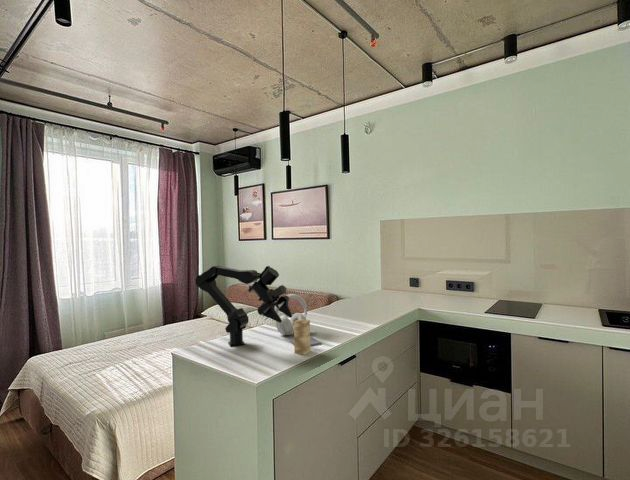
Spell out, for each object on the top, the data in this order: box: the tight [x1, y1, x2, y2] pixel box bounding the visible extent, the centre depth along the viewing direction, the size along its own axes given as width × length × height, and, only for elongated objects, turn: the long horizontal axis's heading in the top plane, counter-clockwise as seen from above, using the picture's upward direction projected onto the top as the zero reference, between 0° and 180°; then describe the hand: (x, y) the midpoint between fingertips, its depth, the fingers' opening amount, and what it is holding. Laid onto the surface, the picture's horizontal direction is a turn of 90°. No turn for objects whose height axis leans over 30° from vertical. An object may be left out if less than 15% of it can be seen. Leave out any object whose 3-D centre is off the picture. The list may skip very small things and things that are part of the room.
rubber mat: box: [289, 335, 322, 347], centre depth 148 cm, size 11×11×1 cm
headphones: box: [274, 293, 308, 336], centre depth 163 cm, size 18×10×20 cm, turn 126°
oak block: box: [293, 319, 311, 355], centre depth 136 cm, size 5×5×13 cm
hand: (286, 319), depth 139 cm, fingers open, 9 cm apart
